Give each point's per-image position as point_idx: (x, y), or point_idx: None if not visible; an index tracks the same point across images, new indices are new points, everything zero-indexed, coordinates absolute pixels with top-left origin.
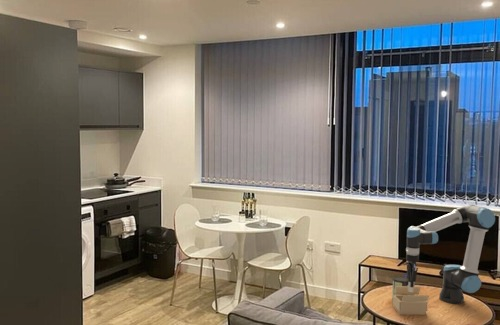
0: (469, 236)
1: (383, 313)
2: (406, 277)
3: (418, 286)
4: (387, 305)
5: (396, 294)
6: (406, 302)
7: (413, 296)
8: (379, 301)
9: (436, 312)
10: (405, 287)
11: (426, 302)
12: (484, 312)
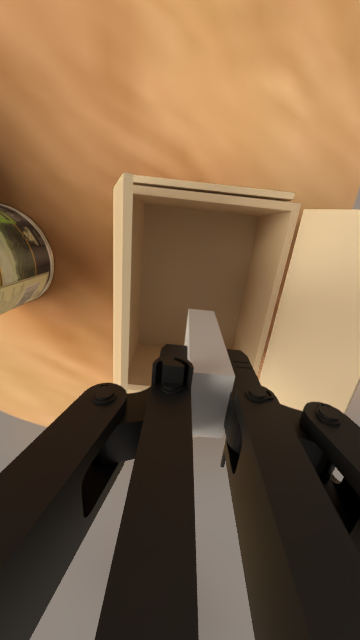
0: None
1: None
2: None
3: (124, 204)
4: (105, 362)
5: (13, 307)
6: (258, 365)
7: (346, 376)
8: (51, 376)
9: (236, 100)
10: (127, 364)
11: (299, 207)
12: None
